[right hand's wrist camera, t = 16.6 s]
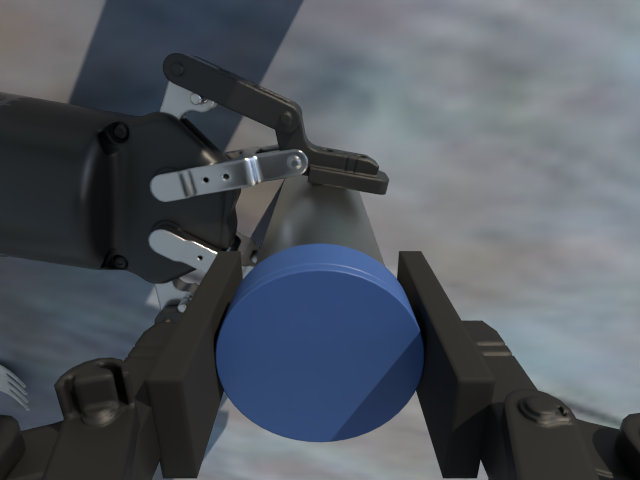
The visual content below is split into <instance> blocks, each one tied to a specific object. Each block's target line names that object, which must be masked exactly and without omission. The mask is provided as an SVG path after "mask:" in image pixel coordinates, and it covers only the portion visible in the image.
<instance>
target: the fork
mask: <svg viewBox="0 0 640 480" xmlns="http://www.w3.org/2000/svg"><path fill="white" fill-rule="evenodd" d="M6 373H7V374H8V375H10V376H11V377H13V378H14V379H15V380H16V381H17V382H18V383H19V384H21V385H22V387H23V388H25V387H26V385H25V384H24V383H23V382H22V381H21V380H20V379H19V378H18V377H17V376H16V375H15V374H14V373H12V372H11V371H10V370H8V369H7V368H5V367H4V366H2V365H0V391H1V392H4V393H6V394H8V395H10V396H12V397H13V398H14V399H16V400H17V401H18V402H19V403H20V404H21V405H22V406H23V407H24V408H25V409H26V410H27V411H29V410H30V408H29V407H28V406H27V405H26V404H25V403H28V402H29V401H28V400H27V399H26V398H25V397H24V396H23V395H22V394H21V393H20V392H19V391H18V390H17V389H16V388H15V387H17V388H18V389H19V390H20V391H21V392H22V393H23V394H24V395H27V392H26V391H25V390H24V389H23V388H22V387H21V386H20V385H19V384H17V383H16V382H15V381H14V380H13V379H12V378H10V377H9V376H8V375H7V374H6ZM8 381H9V382H10V383H12V384H13V385H14V386H15V387H13V386H12V385H11V384H10V383H9V382H8ZM10 389H11V390H12V391H14V392H15V393H16V394H17V395H18V396H20V397H21V398H22V399H23V400H24V401H25V403H24V402H23V401H22V400H21V399H20V398H19V397H18V396H17V395H15V394H14V393H13V392H12V391H11V390H10Z"/></svg>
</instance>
